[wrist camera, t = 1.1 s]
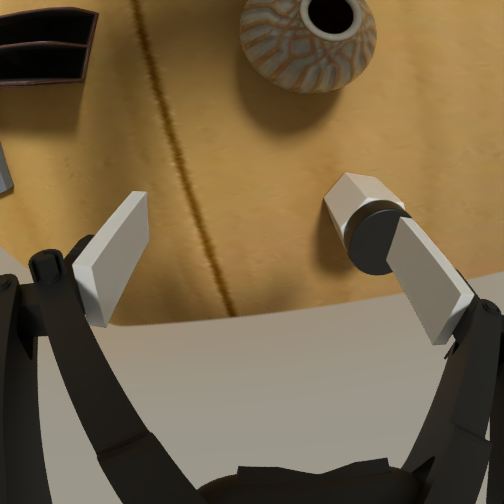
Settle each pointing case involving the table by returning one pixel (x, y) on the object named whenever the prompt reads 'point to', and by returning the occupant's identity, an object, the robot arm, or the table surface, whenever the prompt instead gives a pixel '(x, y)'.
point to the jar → (365, 220)
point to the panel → (4, 173)
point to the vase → (308, 42)
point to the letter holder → (45, 46)
